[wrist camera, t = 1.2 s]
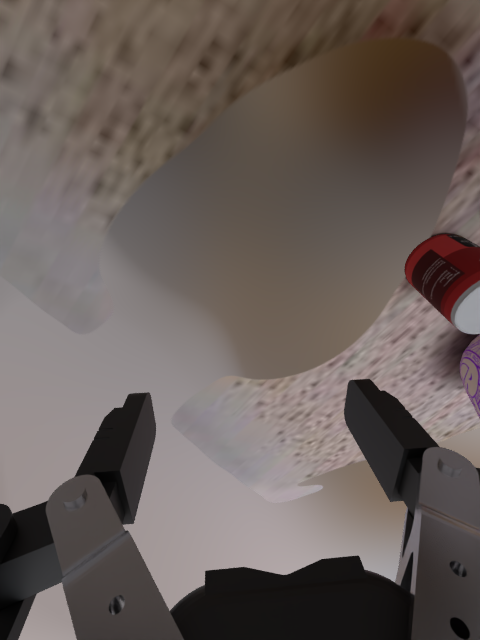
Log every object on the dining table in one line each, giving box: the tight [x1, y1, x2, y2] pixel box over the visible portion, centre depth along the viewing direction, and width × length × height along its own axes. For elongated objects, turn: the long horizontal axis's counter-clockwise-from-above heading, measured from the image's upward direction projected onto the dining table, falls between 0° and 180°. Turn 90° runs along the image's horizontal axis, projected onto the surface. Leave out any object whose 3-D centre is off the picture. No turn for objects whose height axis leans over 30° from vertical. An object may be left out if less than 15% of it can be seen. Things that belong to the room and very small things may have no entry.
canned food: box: [405, 234, 480, 334], centre depth 34 cm, size 8×8×11 cm
